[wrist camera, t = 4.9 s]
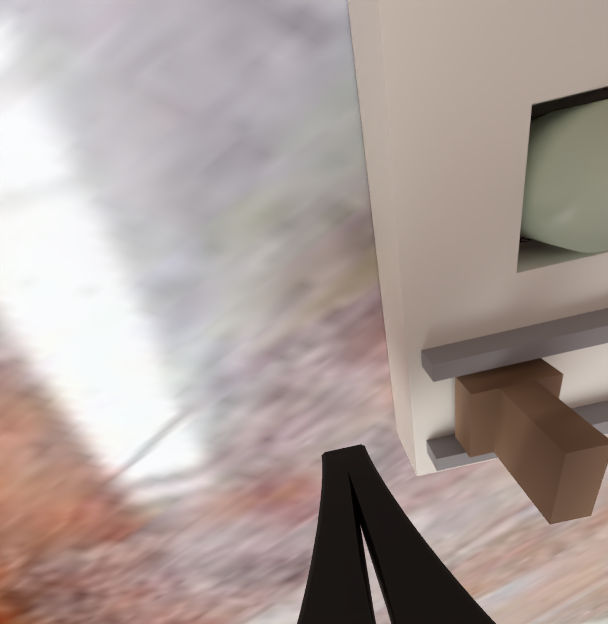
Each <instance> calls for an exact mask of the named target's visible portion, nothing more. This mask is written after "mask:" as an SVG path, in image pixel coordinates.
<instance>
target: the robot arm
mask: <svg viewBox="0 0 608 624" xmlns="http://www.w3.org/2000/svg"><path fill="white" fill-rule="evenodd" d="M360 525H361V526H360ZM361 528H362V531H363V534H364V538H365V541H366V544H367V547H368V550H369V553H370V557H371V560H372V563H373V566H374V569H375V572H376V576H377V579H378V582H379V585H380V588H381V591H382V594H383V598H384V601H385V604H386V607H387V610H388V614H389V617H390V621H391V624H496V623H495V622H494V621H493V620H492V619H491V618H490V617H489V616H488V615H487V614H486V613H485V612H484V610H483V609H482V608H481V607H480V606H479V605H478V604H477V603H476V601H475V600H474V599H473V598H472V597H471V596H470V595H469V593H468V592H467V591H466V590H465V589H464V588H463V586H462V585H461V584H460V583H459V582H458V581H457V579H456V578H455V577H454V576H453V575H452V573H451V572H450V571H449V570H448V569H447V568H446V566H445V565H444V564H443V563H442V561H441V560H440V559H439V558H438V556H437V555H436V554H435V553H434V551H433V550H432V549H431V548H430V546H429V545H428V544H427V543H426V541H425V540H424V539H423V537H422V536H421V535H420V533H419V532H418V531H417V529H416V528H415V527H414V525H413V524H412V523H411V521H410V520H409V518H408V517H407V516H406V514H405V513H404V511H403V510H402V509H401V507H400V506H399V504H398V503H397V501H396V500H395V498H394V497H393V495H392V494H391V492H390V491H389V489H388V488H387V486H386V485H385V483H384V481H383V480H382V478H381V476H380V475H379V473H378V471H377V470H376V468H375V466H374V464H373V462H372V461H371V459H370V457H369V455H368V453H367V450H366V448H365V446H363V445H361V444H360V445H356V446H351V447H347V448H342V449H338V450H333V451H329V452H325V453H324V454H323V455H322V489H321V501H320V509H319V517H318V525H317V532H316V537H315V543H314V549H313V555H312V560H311V566H310V571H309V575H308V580H307V585H306V589H305V594H304V598H303V602H302V606H301V611H300V615H299V619H298V622H297V624H376V621H375V616H374V610H373V603H372V597H371V591H370V584H369V578H368V571H367V565H366V558H365V552H364V546H363V539H362V533H361Z"/></svg>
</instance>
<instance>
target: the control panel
mask: <svg viewBox="0 0 608 624" xmlns="http://www.w3.org/2000/svg"><path fill="white" fill-rule="evenodd" d="M347 1H348V9H349V18H350V27H351V36H352V44H353V53H354V62H355V71H356V79H357V88H358V97H359V106H360V114H361V123H362V132H363V141H364V149H365V158H366V167H367V176H368V185H369V193H370V202H371V211H372V220H373V228H374V237H375V246H376V255H377V263H378V272H379V281H380V290H381V298H382V307H383V316H384V325H385V333H386V342H387V351H388V360H389V368H390V377H391V386H392V395H393V404H394V412H395V421H396V430H397V434H398V436H399V438H400V440H401V443H402V445H403V447H404V449H405V451H406V454H407V456H408V458H409V460H410V462H411V464H412V467H413V469H414V471H415V473H416V475H417V476H421V475H425V474H430V473H434V472H439V471H443V470H448V469H453V468H457V467H462V466H466V465H471V464H475V463H480V462H484V461H489V460H494V459H498V457H497V455H496V454H495V453H494V452H493V453H488V454H484V455H479V456H475V457H469V456H468V454H467V453H466V451H465V450H464V448H463V447H462V445H461V444H460V443H459V441H458V440H457V438H456V437H455V377H458V376H463V375H467V374H472V373H476V372H480V371H485V370H489V369H494V368H498V367H503V366H507V365H512V364H516V363H520V362H525V361H529V360H534V359H538V358H542V359H543V360H544V361H546V362H547V363H549V364H550V365H551V366H553V367H554V368H556V369H557V370H559V371H560V372H561V373H563V374H564V375H563V380H562V385H561V390H560V396H559V399H560V400H561V401H562V402H564V403H565V404H566V405H567V406H569V407H570V408H571V409H572V410H574V411H575V412H576V413H577V414H578V415H580V416H581V417H582V418H583V419H585V420H586V421H587V422H588V423H590V424H591V425H592V426H593V427H595V428H596V429H597V430H598V431H600V432H601V433H602V434H603V435H608V250H606V251H601V252H595V253H584V252H578V251H574V250H570V249H566V248H562V247H559V246H555V245H551V244H547V243H543V242H540V241H536V240H530V241H526V242H521V243H519V240H520V229H521V218H522V207H523V196H524V185H525V174H526V163H527V152H528V142H529V131H530V120H531V109H532V106H533V105H537V104H541V103H545V102H550V101H554V100H558V99H562V98H566V97H570V96H575V95H579V94H583V93H587V92H591V91H595V90H600V89H604V88H608V0H347Z"/></svg>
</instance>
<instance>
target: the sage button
mask: <svg viewBox="0 0 608 624" xmlns="http://www.w3.org/2000/svg"><path fill="white" fill-rule="evenodd" d="M520 236H521V237H524V238H528V239H532V240H536V241H540V242H543V243H547V244H551V245H555V246H559V247H562V248H566V249H570V250H574V251H578V252H584V253H595V252H601V251H606V250H608V99H606V100H601V101H597V102H592V103H588V104H583V105H579V106H574V107H570V108H565V109H561V110H556V111H553V112H550V113H547V114H545V115H543V116H540V117H539V118H537V119H535V120H534V121H532V122H531V123H530V131H529V142H528V152H527V163H526V174H525V185H524V196H523V207H522V218H521V229H520Z"/></svg>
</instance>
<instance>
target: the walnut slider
mask: <svg viewBox="0 0 608 624" xmlns="http://www.w3.org/2000/svg"><path fill="white" fill-rule="evenodd" d="M563 375H564V374H563V373H561V372H560V371H559V370H557V369H556V368H554V367H553V366H551V365H550V364H549V363H547V362H546V361H544V360H543V359H542V358H538V359H534V360H529V361H525V362H520V363H516V364H512V365H507V366H503V367H498V368H494V369H489V370H485V371H480V372H476V373H472V374H467V375H463V376H458V377H455V437H456V438H457V440H458V441H459V443H460V444H461V445H462V447H463V448H464V450H465V451H466V453H467V454H468V456H469V457H475V456H479V455H484V454H488V453H493V452H494V453H495V454H496V455H497V457H498V458H499V459H500V461H501V462H502V463H503V465H504V466H505V467H506V468H507V470H508V471H509V472H510V474H511V475H512V476H513V477H514V479H515V480H516V481H517V483H518V484H519V485H520V486H521V488H522V489H523V490H524V492H525V493H526V494H527V496H528V497H529V498H530V499H531V501H532V502H533V503H534V505H535V506H536V507H537V508H538V510H539V511H540V512H541V514H542V515H543V516H544V517H545V519H546V520H547V521H548V523H549V524H554V523H559V522H563V521H568V520H573V519H577V518H582V517H587V516H591V514H592V511H593V508H594V504H595V501H596V498H597V495H598V492H599V489H600V486H601V483H602V479H603V476H604V473H605V470H606V467H607V464H608V438H607V437H606V436H605V435H603V434H602V433H601V432H600V431H598V430H597V429H596V428H595V427H593V426H592V425H591V424H590V423H588V422H587V421H586V420H585V419H583V418H582V417H581V416H580V415H578V414H577V413H576V412H575V411H574V410H572V409H571V408H570V407H569V406H567V405H566V404H565V403H564V402H562V401H561V400H560V399H559V396H560V390H561V385H562V380H563Z"/></svg>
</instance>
